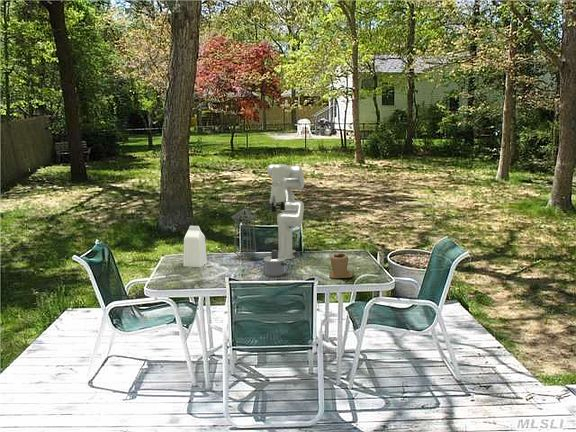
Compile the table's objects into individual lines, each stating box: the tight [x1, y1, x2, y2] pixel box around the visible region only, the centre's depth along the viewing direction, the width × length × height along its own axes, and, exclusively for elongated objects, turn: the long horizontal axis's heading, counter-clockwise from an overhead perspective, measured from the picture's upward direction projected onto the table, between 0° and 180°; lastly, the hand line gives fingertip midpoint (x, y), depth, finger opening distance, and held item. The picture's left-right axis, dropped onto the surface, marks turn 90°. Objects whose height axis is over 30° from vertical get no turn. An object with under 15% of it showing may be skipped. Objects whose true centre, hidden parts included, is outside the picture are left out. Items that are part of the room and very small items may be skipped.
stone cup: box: [328, 252, 354, 279], centre depth 332 cm, size 15×12×15 cm
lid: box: [263, 249, 287, 262], centre depth 342 cm, size 14×14×7 cm
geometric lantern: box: [231, 208, 259, 261], centre depth 383 cm, size 16×16×35 cm
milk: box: [182, 225, 208, 268], centre depth 366 cm, size 12×12×26 cm
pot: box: [262, 259, 288, 277], centre depth 342 cm, size 12×17×9 cm
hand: (278, 211), depth 358 cm, fingers open, 9 cm apart
